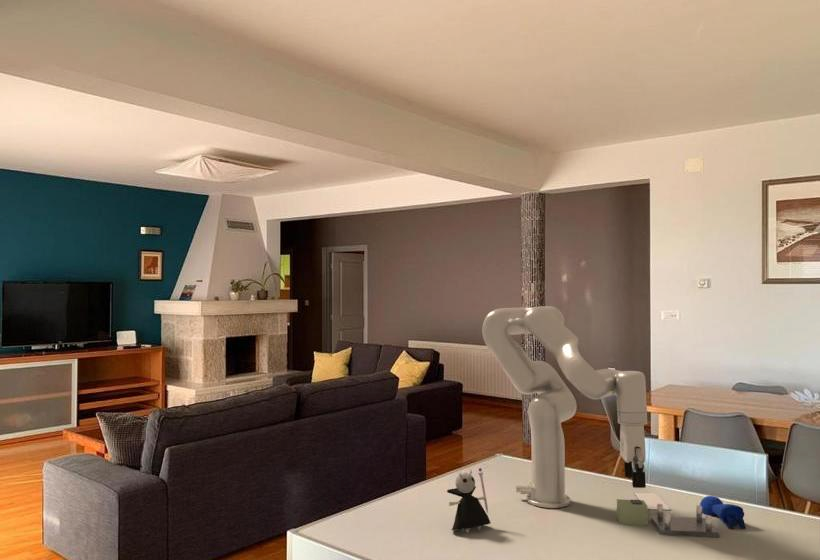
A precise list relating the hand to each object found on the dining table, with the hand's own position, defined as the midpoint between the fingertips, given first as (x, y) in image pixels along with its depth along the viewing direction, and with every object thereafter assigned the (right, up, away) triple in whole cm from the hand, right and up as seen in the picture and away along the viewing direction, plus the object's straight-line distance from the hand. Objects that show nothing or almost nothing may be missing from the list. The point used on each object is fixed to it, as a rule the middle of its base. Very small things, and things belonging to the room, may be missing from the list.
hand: (635, 482), depth 168 cm
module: (-1, -11, 0) cm, 11 cm away
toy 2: (+24, -11, +2) cm, 26 cm away
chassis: (+11, -10, -5) cm, 16 cm away
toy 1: (-45, -11, -5) cm, 46 cm away
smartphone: (+11, -11, +16) cm, 22 cm away
